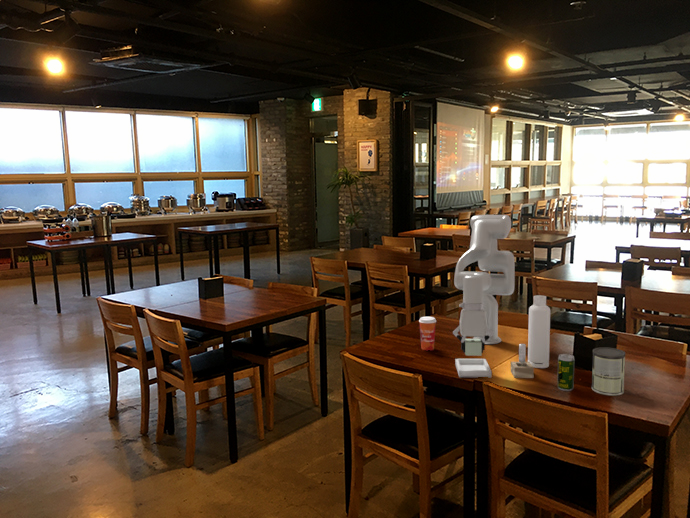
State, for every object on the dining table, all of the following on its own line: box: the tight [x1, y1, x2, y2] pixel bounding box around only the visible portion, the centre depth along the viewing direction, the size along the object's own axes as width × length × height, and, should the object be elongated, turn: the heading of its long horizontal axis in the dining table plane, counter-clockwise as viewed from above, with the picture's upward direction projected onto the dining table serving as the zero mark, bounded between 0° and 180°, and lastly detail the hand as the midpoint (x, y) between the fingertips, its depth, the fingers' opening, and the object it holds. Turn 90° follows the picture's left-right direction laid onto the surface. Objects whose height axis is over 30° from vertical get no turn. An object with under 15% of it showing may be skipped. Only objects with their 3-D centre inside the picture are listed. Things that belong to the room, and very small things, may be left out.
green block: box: [464, 338, 483, 357], centre depth 214 cm, size 6×6×5 cm
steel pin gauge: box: [518, 343, 527, 366], centre depth 209 cm, size 2×2×12 cm
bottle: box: [527, 294, 551, 369], centre depth 219 cm, size 8×8×28 cm
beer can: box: [556, 353, 575, 392], centre depth 194 cm, size 5×5×12 cm
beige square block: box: [510, 361, 535, 379], centre depth 209 cm, size 7×7×4 cm
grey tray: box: [454, 358, 492, 379], centre depth 215 cm, size 15×12×2 cm
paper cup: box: [418, 316, 437, 352], centre depth 245 cm, size 8×8×14 cm
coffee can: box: [591, 346, 627, 397], centre depth 191 cm, size 10×10×14 cm
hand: (472, 351), depth 214 cm, fingers closed on green block, 6 cm apart
